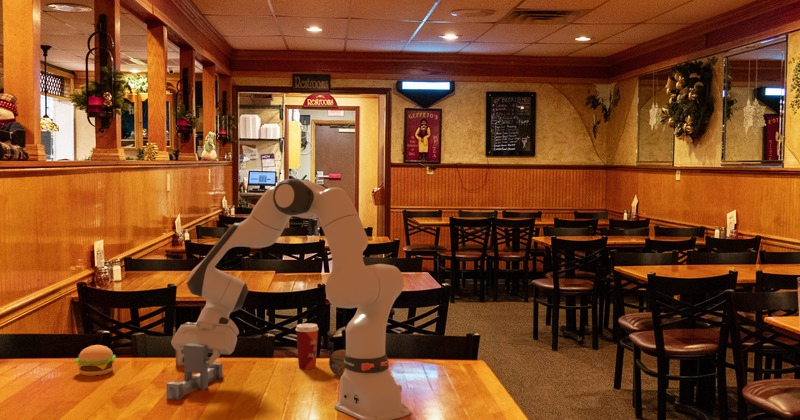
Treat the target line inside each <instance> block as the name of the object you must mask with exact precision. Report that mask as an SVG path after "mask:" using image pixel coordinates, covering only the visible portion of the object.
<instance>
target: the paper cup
mask: <svg viewBox="0 0 800 420" xmlns="http://www.w3.org/2000/svg"><path fill="white" fill-rule="evenodd" d="M319 330H320V329H319V327H318V324H317V323H305V322H304V323H299V324H297V325H296V328H295V331H296V343H297V344H296V346H297V361H298V368H299V369H301V370H312V369H315V368H316V367H317V351H318V348H317V347H318V335H319Z"/></svg>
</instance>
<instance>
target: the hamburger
mask: <svg viewBox="0 0 800 420" xmlns="http://www.w3.org/2000/svg"><path fill="white" fill-rule="evenodd" d="M113 353H114V352H113V351H112V350H111V348H109V347H108V346H106V345H101V344H95V345H93V344H92V345H89V346H88V347H85V348H84V349H82V350H81V351H80V353H79V354H78V357H77V358H75V362H76V363H77V369H78V372H79V374H80V375H81V376H82V375H83V376H87V377H97V376H96V375H99V376H103V374H104V375H106V374H107V375H108V374H109V373H111V372H112V371H113V369H114V366H113V363H115V359H116V358H117V357H116V354H113Z"/></svg>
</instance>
